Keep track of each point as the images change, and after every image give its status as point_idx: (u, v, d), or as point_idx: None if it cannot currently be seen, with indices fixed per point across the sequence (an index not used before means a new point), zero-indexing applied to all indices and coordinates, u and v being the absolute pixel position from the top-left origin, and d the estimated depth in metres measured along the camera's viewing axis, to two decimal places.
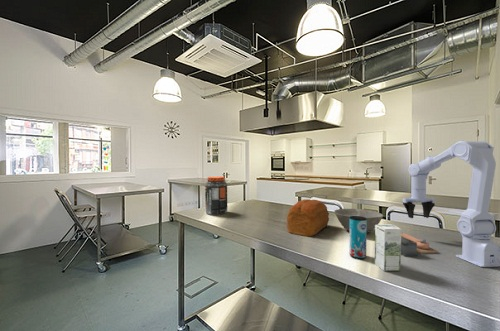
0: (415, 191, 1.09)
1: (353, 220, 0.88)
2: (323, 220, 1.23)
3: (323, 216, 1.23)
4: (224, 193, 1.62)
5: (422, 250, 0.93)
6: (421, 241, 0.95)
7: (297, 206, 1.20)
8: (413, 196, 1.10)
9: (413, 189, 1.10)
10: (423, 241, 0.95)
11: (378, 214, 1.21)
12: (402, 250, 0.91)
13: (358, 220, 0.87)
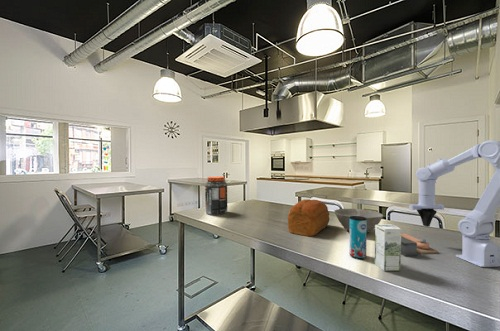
0: (423, 197, 1.01)
1: (353, 220, 0.88)
2: (324, 220, 1.23)
3: (324, 216, 1.24)
4: (224, 193, 1.62)
5: (422, 250, 0.93)
6: (421, 241, 0.95)
7: (298, 206, 1.20)
8: (421, 203, 1.01)
9: (421, 195, 1.01)
10: (423, 241, 0.95)
11: (378, 214, 1.21)
12: (402, 250, 0.91)
13: (358, 220, 0.87)
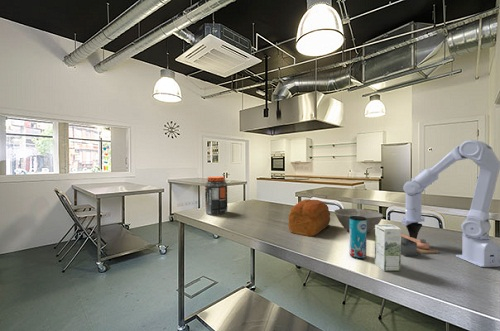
0: (413, 211, 1.00)
1: (353, 220, 0.88)
2: (325, 220, 1.23)
3: (324, 216, 1.24)
4: (224, 193, 1.62)
5: (422, 250, 0.93)
6: (421, 241, 0.95)
7: (299, 206, 1.20)
8: (410, 217, 1.01)
9: (410, 209, 1.00)
10: (423, 241, 0.95)
11: (378, 214, 1.21)
12: (402, 250, 0.91)
13: (358, 220, 0.87)
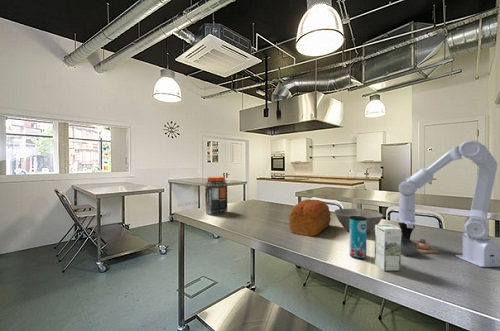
0: (411, 212, 0.97)
1: (353, 220, 0.88)
2: (325, 220, 1.23)
3: (325, 216, 1.24)
4: (224, 193, 1.62)
5: (422, 250, 0.93)
6: (423, 241, 0.95)
7: (299, 206, 1.20)
8: (409, 218, 0.98)
9: (409, 210, 0.97)
10: (425, 241, 0.95)
11: (378, 214, 1.21)
12: (402, 250, 0.91)
13: (358, 220, 0.87)
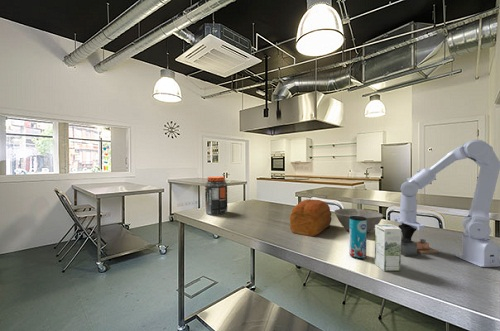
0: (415, 214, 0.95)
1: (353, 220, 0.88)
2: (326, 220, 1.23)
3: (326, 216, 1.24)
4: (224, 193, 1.62)
5: (422, 250, 0.93)
6: (425, 241, 0.95)
7: (300, 206, 1.20)
8: (413, 220, 0.95)
9: (414, 212, 0.94)
10: (425, 241, 0.95)
11: (378, 214, 1.21)
12: (402, 250, 0.91)
13: (358, 220, 0.87)
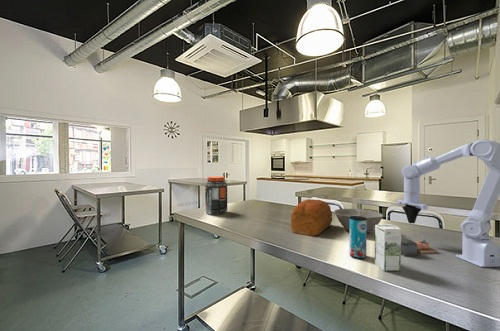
0: (418, 195, 1.01)
1: (353, 220, 0.88)
2: (327, 220, 1.24)
3: (327, 216, 1.24)
4: (224, 193, 1.62)
5: (422, 250, 0.93)
6: (425, 241, 0.95)
7: (301, 206, 1.20)
8: (417, 200, 1.00)
9: (417, 193, 1.00)
10: (425, 241, 0.95)
11: (378, 214, 1.21)
12: (402, 250, 0.91)
13: (358, 220, 0.87)
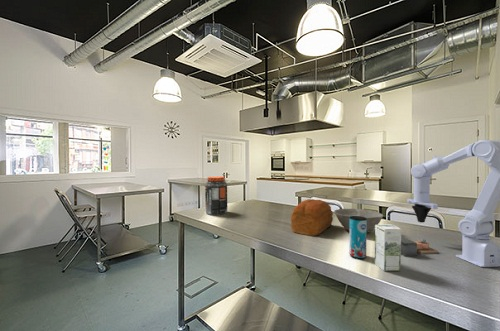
0: (428, 194, 1.01)
1: (353, 220, 0.88)
2: (327, 220, 1.24)
3: (327, 216, 1.24)
4: (224, 193, 1.62)
5: (422, 250, 0.93)
6: (425, 241, 0.95)
7: (301, 206, 1.20)
8: (427, 200, 1.01)
9: (427, 192, 1.01)
10: (425, 241, 0.95)
11: (378, 214, 1.21)
12: (402, 250, 0.91)
13: (358, 220, 0.87)
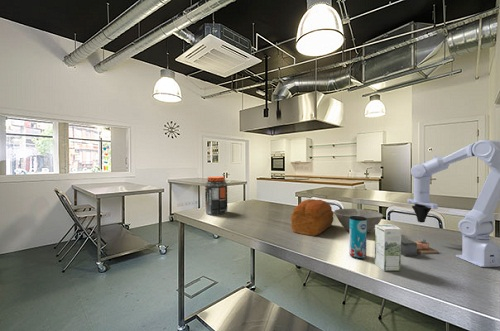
0: (428, 194, 1.01)
1: (353, 220, 0.88)
2: (327, 220, 1.24)
3: (327, 216, 1.24)
4: (224, 193, 1.62)
5: (422, 250, 0.93)
6: (425, 241, 0.95)
7: (301, 206, 1.21)
8: (427, 200, 1.01)
9: (427, 192, 1.01)
10: (425, 241, 0.95)
11: (378, 214, 1.21)
12: (402, 250, 0.91)
13: (358, 220, 0.87)
